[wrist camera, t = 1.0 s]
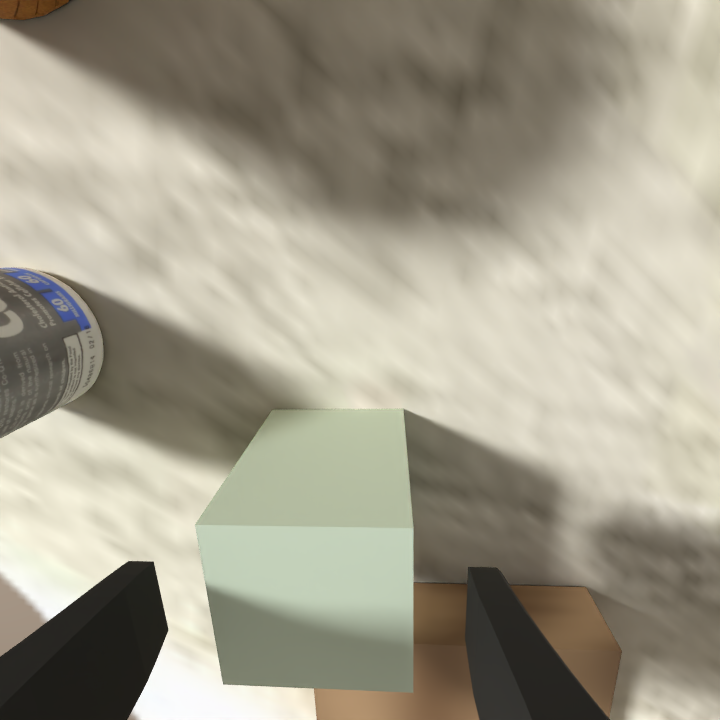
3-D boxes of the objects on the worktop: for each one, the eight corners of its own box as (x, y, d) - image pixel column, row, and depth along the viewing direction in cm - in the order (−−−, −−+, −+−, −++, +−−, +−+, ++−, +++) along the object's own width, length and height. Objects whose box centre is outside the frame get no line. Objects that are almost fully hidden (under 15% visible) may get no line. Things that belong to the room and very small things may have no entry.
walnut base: (585, 587, 15) (621, 651, 13) (558, 767, 18) (584, 847, 16) (321, 580, 16) (309, 640, 14) (334, 755, 19) (326, 830, 17)
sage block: (403, 408, 14) (413, 528, 8) (404, 521, 15) (412, 692, 10) (272, 409, 14) (195, 525, 9) (284, 519, 16) (223, 684, 10)
